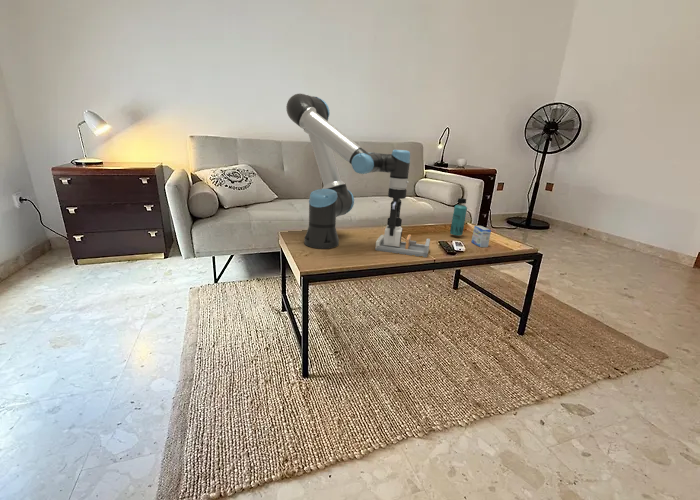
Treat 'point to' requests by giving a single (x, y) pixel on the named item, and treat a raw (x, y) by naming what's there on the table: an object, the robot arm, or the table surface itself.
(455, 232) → the beverage bottle
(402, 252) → the lane
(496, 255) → the table surface
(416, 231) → the table surface
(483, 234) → the medicine box
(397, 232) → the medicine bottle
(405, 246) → the pusher
